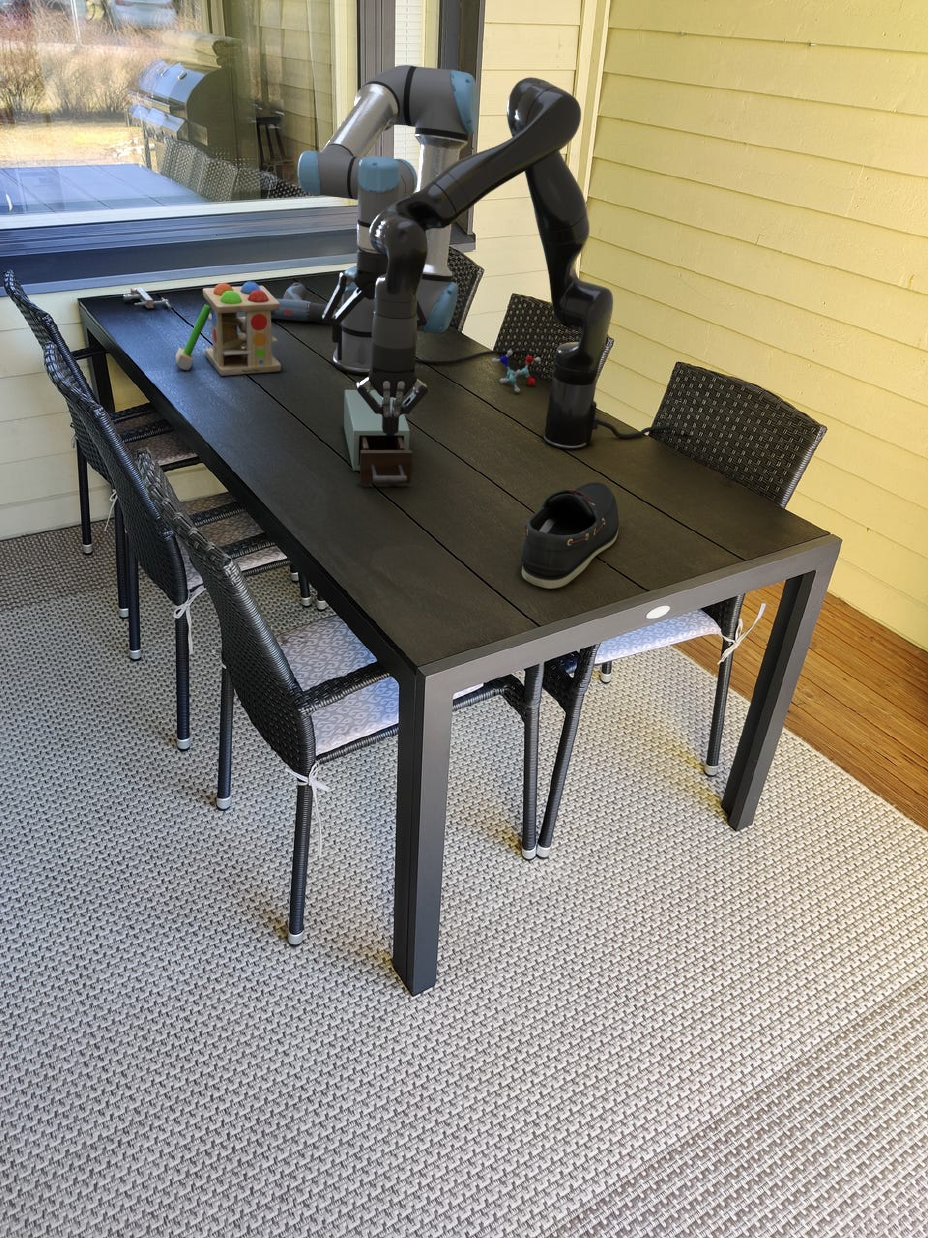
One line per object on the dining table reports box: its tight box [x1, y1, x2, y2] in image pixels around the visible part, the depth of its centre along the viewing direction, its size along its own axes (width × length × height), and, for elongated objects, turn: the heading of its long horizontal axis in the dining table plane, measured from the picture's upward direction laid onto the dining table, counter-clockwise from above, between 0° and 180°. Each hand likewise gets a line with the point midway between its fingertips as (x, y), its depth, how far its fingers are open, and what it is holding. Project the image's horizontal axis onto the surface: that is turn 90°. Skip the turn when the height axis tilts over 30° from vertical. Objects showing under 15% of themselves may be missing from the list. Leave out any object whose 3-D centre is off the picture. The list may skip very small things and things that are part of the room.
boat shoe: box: [520, 481, 620, 590], centre depth 170 cm, size 13×33×10 cm, turn 147°
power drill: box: [271, 282, 338, 322], centre depth 265 cm, size 5×19×20 cm
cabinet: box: [343, 389, 411, 472], centre depth 197 cm, size 20×11×8 cm, turn 11°
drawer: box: [359, 435, 413, 485], centre depth 188 cm, size 25×10×6 cm, turn 11°
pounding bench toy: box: [174, 281, 282, 377], centre depth 225 cm, size 23×14×18 cm, turn 116°
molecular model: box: [491, 349, 541, 394], centre depth 232 cm, size 12×10×10 cm
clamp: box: [122, 287, 173, 309], centre depth 261 cm, size 15×2×10 cm
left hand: (373, 358), depth 196 cm, fingers open, 13 cm apart
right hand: (390, 434), depth 175 cm, fingers closed
